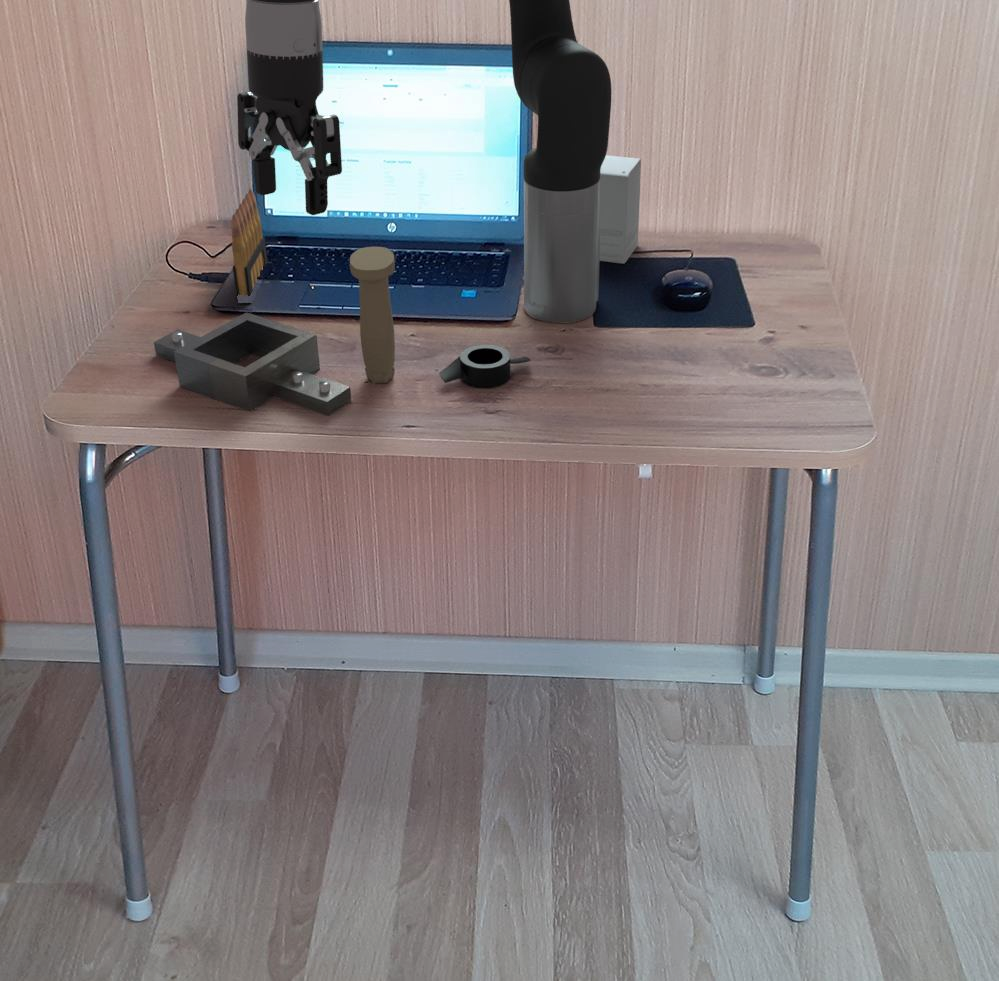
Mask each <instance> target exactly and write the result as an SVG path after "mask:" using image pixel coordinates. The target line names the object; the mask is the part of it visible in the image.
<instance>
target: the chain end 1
mask: <svg viewBox="0 0 999 981" xmlns="http://www.w3.org/2000/svg"><path fill="white" fill-rule="evenodd" d="M280 323H281V322H278V321H274V320H272V319H270V318H265V317H261V316H259V315H256V314H253V313H249V312H244V313H243V314H240V315H238V316H237V317H235V318H234V319H232V320H230V321H228V322H226V323H224V324H222V325H221V326H219V327H216V328H214V329H213V330H211V331H209V332H207V333H206V334H204V335H202V336H199V335H196V334H193V333H189V332H187V331H184V330H181V329H176V330H174V331H172V332H170V333H168V334H166V335H164V336H163V337H161V338H159V339H157V340H155V341H153V346H154V351H155V356H157V357H159V358H162V359H166V360H168V361H171V362H173V363H175V365H176V371H177V372H176V373H177V378H178V379H177V380H178V384H179V387H181V388H183V389H186V390H189V391H191V392H195V393H197V394H199V395H203V396H206V397H208V398H211V399H214V393H213V386H212V380H211V373H210V367H209V364H210V363H211V362H213V361H215V360H217V359H218V358H219V359H222V360H224V361H227V362H230V363H233V364H236V363H238V362H240V361H241V360H243V359H245V358H247V357H248V356H251V355H253V356H257V357H260V358H262V357H264V356H265V355H267V354H269V353H270V352H272V351H274V350H275V346H274V338H273V330H272V328H273V327H275V326H277V325H279V324H280ZM214 400H215V399H214Z"/></svg>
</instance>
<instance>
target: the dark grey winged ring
mask: <svg viewBox="0 0 999 981" xmlns="http://www.w3.org/2000/svg"><path fill="white" fill-rule="evenodd" d="M531 361H532V359H531V358H530V357H528V356H522V357H516V358H511V354H510V352H509V351H508V350H507V349H506V348H504V347H502V346H499V345H493V344H478V345H474V346H470V347H467V348H465V349H464V350H463V351H462V352H461V353H460V355H459V356H458V357H457V358H456V359H454V360H453V361H451V363H449V365H447V366H446V367H445V368H444V369H442V370H441V371H440V372H439V373H438V374H439V376H440V378H441V380H442V381H443V382H444V383H445V384H446V383H450V382H453V381H457V380H460V379H461V382H462V383H463V384H465V385H466V386H469V387H472V388H474V389H475V388H476V389H483V390H484V389H494V388H495V389H496V388H499V387H502V386H504V385H505V384H507V383H508V382H510V379H511V365H512V364H513V365H514V364H515V365H516V364H523V363H524V364H525V363H527V362H528V363H529V362H531Z"/></svg>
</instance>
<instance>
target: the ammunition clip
mask: <svg viewBox="0 0 999 981" xmlns="http://www.w3.org/2000/svg"><path fill="white" fill-rule="evenodd" d="M259 214H260V213H259V209H258V205H257V200H256V196H255V193H254V191H253V189H252V188H249V189H248V193H247V192H246V193H245V197H244V198H242V201H241V203H239V205H238V208H236V210H235V213H233V215H232V218H231V239H232V240H231V241H232V244H231V247H232V256H233V264H234V265H233V266H232V271H233V273H232V274H233V280H234V281H233V282H234V287H235V289H234V290H235V295H236V296H238V294H239V295H245V296H246V295H248V296H250V295H251V293H252V291H253V289H252V288H254V283H256V282H257V277H259V276H260V271H261V270H263V266H264V265H265V266H266V264H267V262H268V261H269V260H268V256H267V253H268V252H267V248H266V239H265V236H263V231H262V222H261V217H260V215H259Z"/></svg>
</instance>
